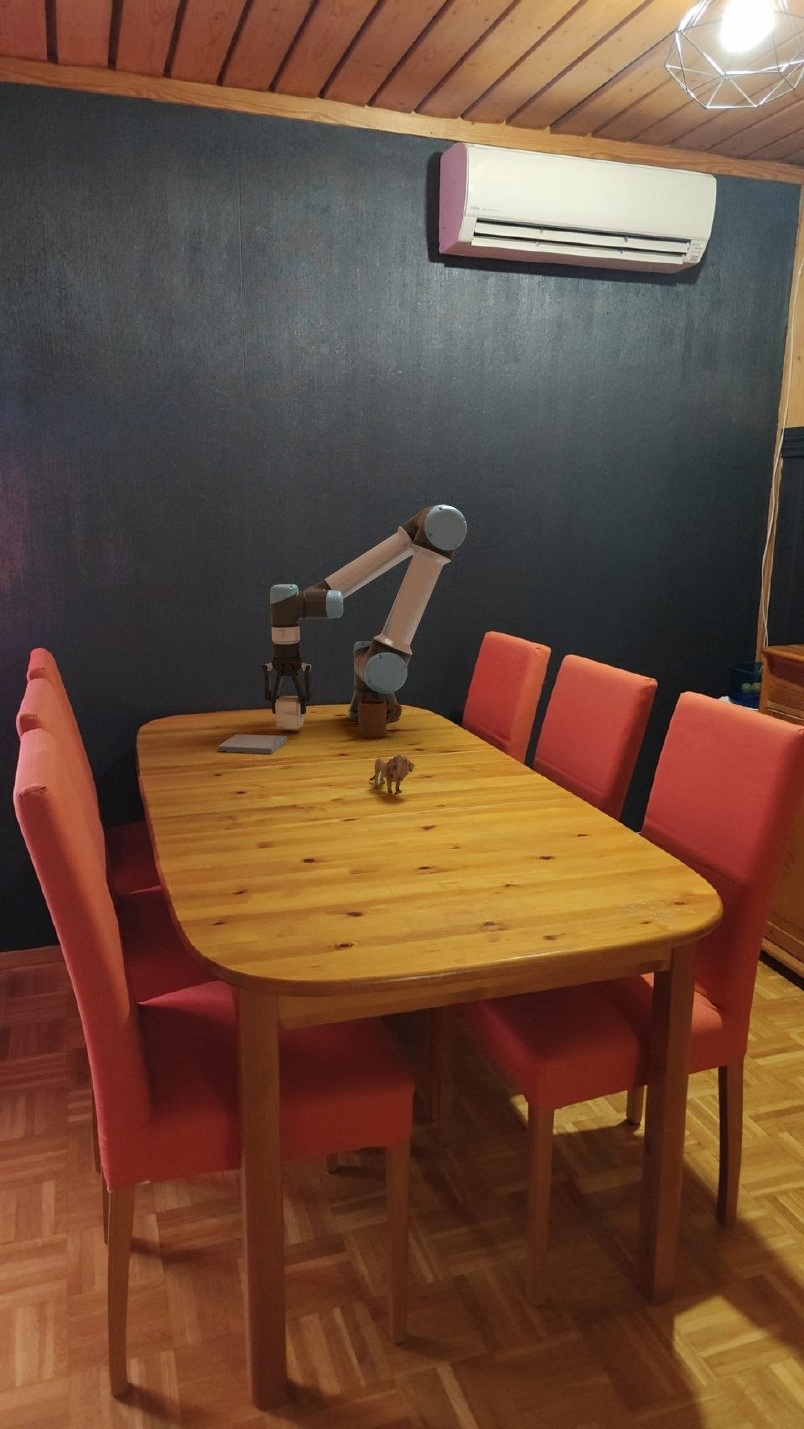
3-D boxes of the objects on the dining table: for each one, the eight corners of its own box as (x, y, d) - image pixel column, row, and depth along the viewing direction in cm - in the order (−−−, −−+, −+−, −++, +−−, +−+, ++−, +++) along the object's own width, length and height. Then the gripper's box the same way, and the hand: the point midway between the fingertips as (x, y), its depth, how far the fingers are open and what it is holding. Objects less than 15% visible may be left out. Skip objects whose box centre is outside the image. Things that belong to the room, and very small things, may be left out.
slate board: (236, 739, 257) (236, 734, 256) (287, 741, 255) (287, 736, 254) (218, 751, 243) (218, 746, 243) (271, 754, 241) (271, 748, 241)
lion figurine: (418, 795, 206) (418, 754, 204) (397, 799, 203) (398, 758, 201) (378, 780, 218) (378, 741, 216) (359, 784, 215) (358, 745, 213)
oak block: (282, 724, 269) (281, 695, 267) (302, 724, 268) (301, 696, 266) (277, 728, 263) (275, 699, 262) (297, 729, 262) (295, 700, 261)
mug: (399, 731, 266) (399, 698, 265) (404, 737, 259) (405, 703, 257) (356, 733, 264) (356, 700, 262) (360, 739, 257) (360, 705, 255)
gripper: (248, 643, 258) (253, 727, 263) (315, 644, 255) (319, 729, 260) (257, 640, 266) (261, 722, 271) (322, 640, 263) (325, 723, 268)
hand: (289, 725), depth 265 cm, fingers closed on oak block, 5 cm apart
